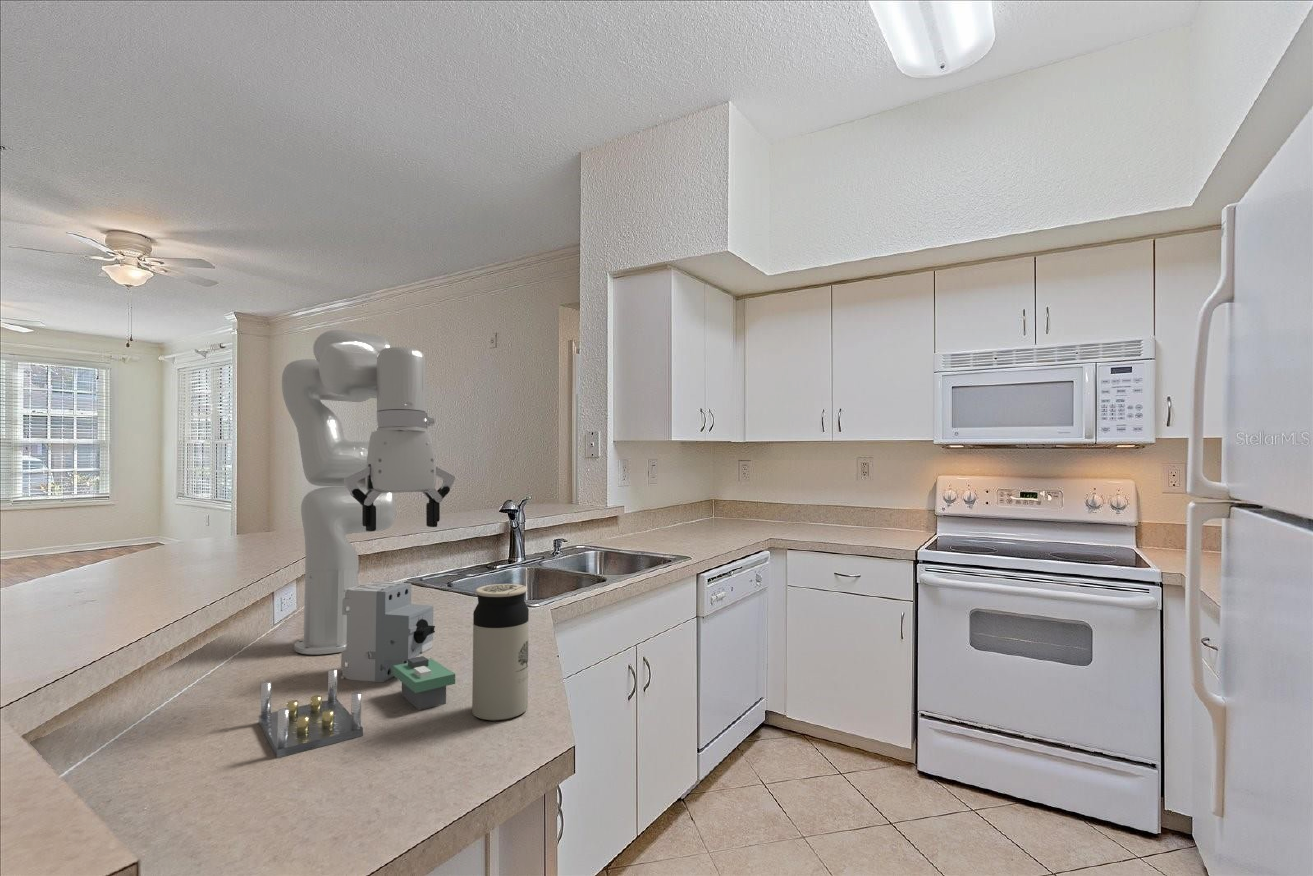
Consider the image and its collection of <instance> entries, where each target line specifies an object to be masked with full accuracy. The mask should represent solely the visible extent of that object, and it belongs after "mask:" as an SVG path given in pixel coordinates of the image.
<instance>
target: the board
mask: <svg viewBox="0 0 1313 876" xmlns="http://www.w3.org/2000/svg"><path fill="white" fill-rule="evenodd" d="M393 676H394V677H395V678H396V679H397V680H398V681H400V682H401V684H402V683H404V684H405V685H406V686H407V687H409V688H410V689H411V690H412V691H414V692H415V693H418V692H422V691H426V690H431V689H435V688H439V687H444V686H446V687H448V686H452V685H456V673H455V672H453V671H452V670H450V669H449V668H447V667H445V666H444V665H443V664H440V662H438V661H436V660H435V659H433V658H427V657H425V656H424V655H420V656H416V657H415V658H411V659H408V663H405V664H400V665H394V666H393Z"/></svg>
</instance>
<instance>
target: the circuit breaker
mask: <svg viewBox="0 0 1313 876" xmlns="http://www.w3.org/2000/svg"><path fill="white" fill-rule="evenodd" d="M344 592H345V598H344V599H343V602H342V615H347V638H346V650H344V651H341V652H340V654H341V656H340V658H341V659H340V665H341V666H340V670H341V671H342V675H341V676H340V679H341V680H344V679H347V680H352V681H365V682H375V683H376V682H378V683H384V682H387V681H389V680H390V679H391V678H394V677H395V676H393V666H394V665H400V664H405V663H408V659H411V658H416V657H419V656H421V655H423V654H424V653H425V652H427V651H430V650H432V649H433V647H434V646H433V645H434V633H436V631H435V628H436V626H435V625H434V605H430V604H429V605H426V604H412V583H411V582H391V581H388V582H387V581H369V582H365V583H363V584H362V583H361V584H360V585H358V586H355V587H352V588H348V589H345V590H344ZM346 606H347V607H349V610H348V611H346ZM346 664H347V666H345V665H346Z"/></svg>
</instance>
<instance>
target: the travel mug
mask: <svg viewBox="0 0 1313 876" xmlns="http://www.w3.org/2000/svg"><path fill="white" fill-rule="evenodd" d="M527 591H528V587H527V586H525V585H522V584H517V583H497V584H496V583H495V584H489V585H488V584H487V585H483V586H480V587H477V588H476V589H475V592H474V593H475V594H476V596H477V601H478V603H477V605H476V606H475V608H474V610H473V615H472V616H473V618H472V620H473V621H472V624H473V625H472V626H473V627H472V629H473V630H472V693H471V694H472V701H471V702H472V703H471V704H472V706H471V708H472V709H471V713H472V714H473V716H475V717H477V718H478V719H481V720H483V721H494V722H496V721H507V720H510V719H513V718H516V717H519V716H520V715H522V714H524V713H525V712H527V710H528V707H529V705H528V704H529V701H528V700H529V689H528V688H529V624H530V623H529V621H530V620H529V613H530V612H529V611H530V610H529V608H528V604H526V602H525V596H526V592H527Z"/></svg>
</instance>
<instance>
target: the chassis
mask: <svg viewBox="0 0 1313 876" xmlns="http://www.w3.org/2000/svg"><path fill="white" fill-rule="evenodd" d="M327 674H328V675H327V677H328V678H327V679H328V682H327V700H323V701H322V695H320V694H317V695H312V696H311V697H310V703H309V704H304V705H300V706H299V700H296V699H294V700H288V701H287V702H286V707H284V708H280V709H278V710H277V711H272V712H271V707H272V681H264V682H262V683H261V685H260V689H261V690H260V691H261V692H260V714H259V715H258V724H259V725H260V728H261V730H262V731H263V733H264V735H265V738H266V739H267V740H268V741H267V742H268V743H269V745H270V747H271V749H272V751H273V752H274V754H275V757H276V759H279V758H283V757H287V756H290V755H294V754H298V753H301V752H302V753H303V752H306V751H310V750H313V749H317V748H321V747H324V746H328V745H332V744H337V743H340V742H345V741H348V740H352V739H356V738H360V737H363V736H364V728H363V726H362V692H361V691H360V692H358V691H357V692H354V693H352V694H351V706H350V707H351V711H350V712H351V713H350V712H349V710H347V709H346V707H345V706H344V705H343V704H342V702H340V701H339V699H338V669H337V668H333V669H329V670H328V673H327Z"/></svg>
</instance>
